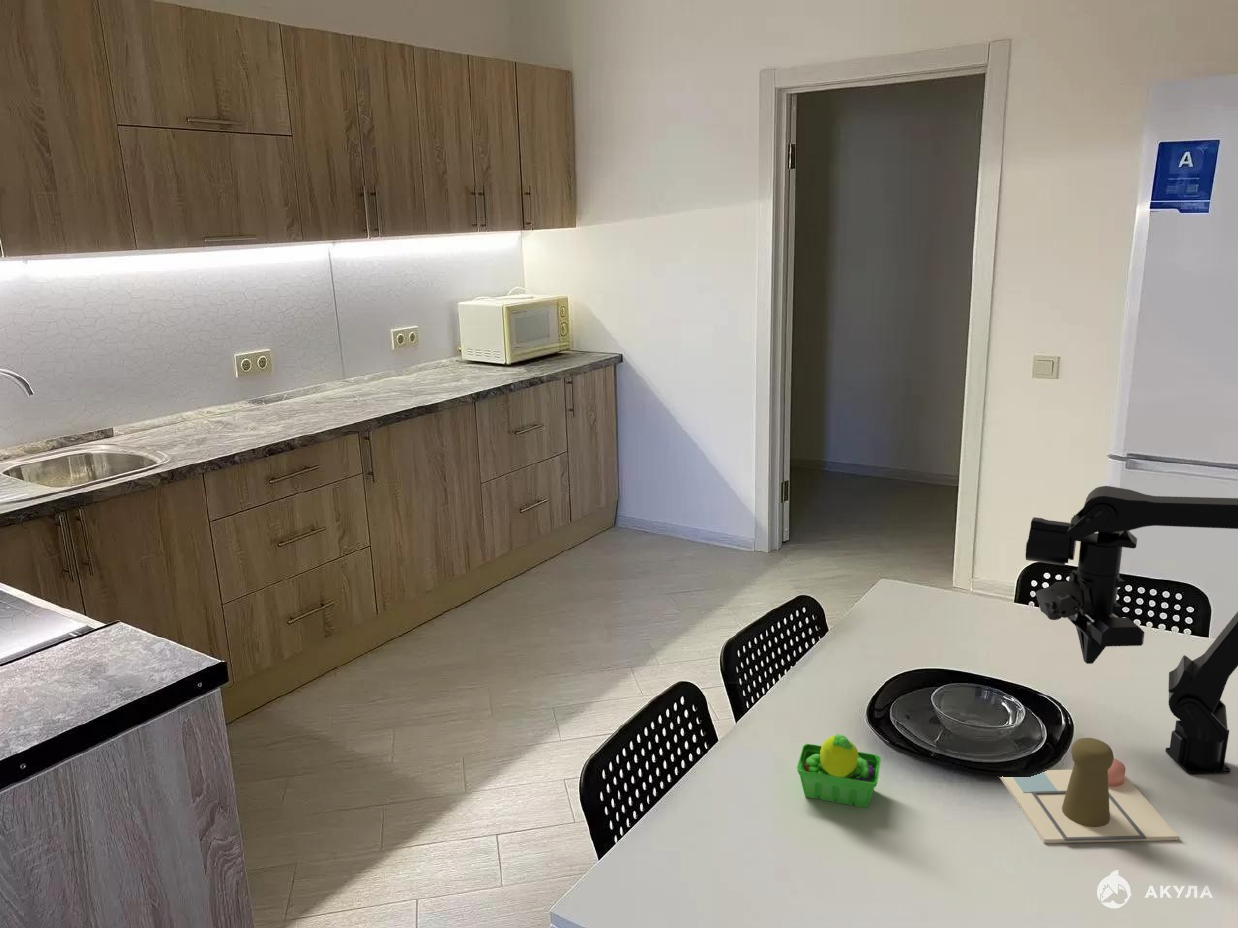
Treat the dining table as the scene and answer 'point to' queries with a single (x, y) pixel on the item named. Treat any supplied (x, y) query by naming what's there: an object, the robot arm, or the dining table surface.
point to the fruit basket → (838, 772)
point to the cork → (1089, 783)
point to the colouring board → (1045, 814)
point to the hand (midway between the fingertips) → (1088, 662)
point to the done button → (1116, 773)
